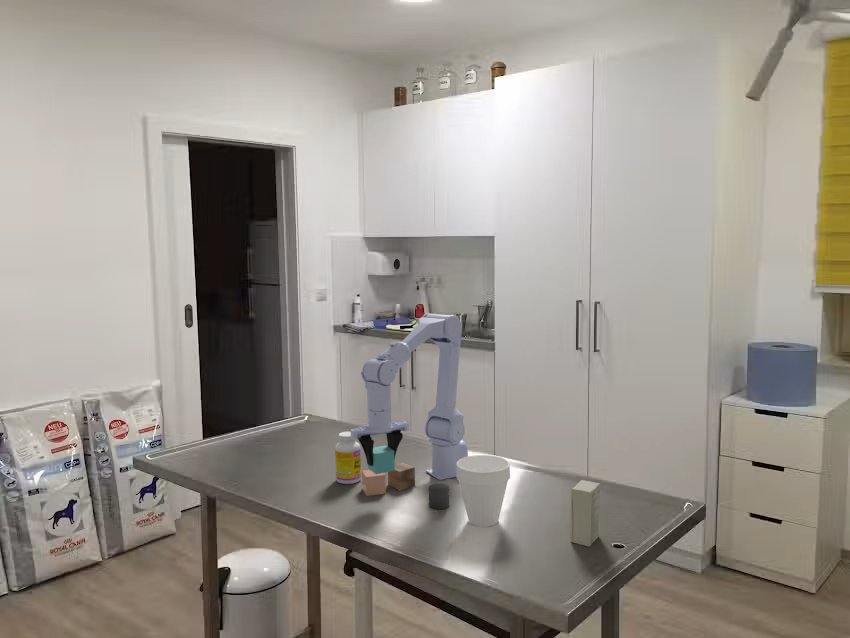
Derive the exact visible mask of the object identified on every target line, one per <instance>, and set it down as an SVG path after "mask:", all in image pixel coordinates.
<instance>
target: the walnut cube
mask: <svg viewBox="0 0 850 638" xmlns="http://www.w3.org/2000/svg"><path fill="white" fill-rule="evenodd" d="M415 471H416V470H415V466H413V465H410V464H407V463H404V462H400V463H397V464H396V463H395V471H390V472H387V483H388V484H387V485H388V486H389V487H392V488H394V489H396V490H399V491H401V490H404V489H408V488H411V487H414V486H416V477H415V476H416V472H415Z"/></svg>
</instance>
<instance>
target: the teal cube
mask: <svg viewBox="0 0 850 638" xmlns="http://www.w3.org/2000/svg"><path fill="white" fill-rule="evenodd" d="M395 465H396V463H395V460H394V450H392V449H391V448H389V447H388V445H381V446H373V466H370V465H368V464H367V470H371V471H372V472H374V473H375V474H380V473H384V474H385V473H388V472H390V471H395Z"/></svg>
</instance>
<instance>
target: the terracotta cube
mask: <svg viewBox="0 0 850 638" xmlns="http://www.w3.org/2000/svg"><path fill="white" fill-rule="evenodd" d="M361 480H362V481H361V483H362V486H361V487H362V490H363V492H364V494H365V496H368V497H369V496H376V495H385V494H386V493H387V492H386V490H387V489H386V488H387V486H386V485H387V484H386V474H385V473H380V474H375V473H374V472H372V471H371V470H370V469H367V470H366V469H364V470H361Z"/></svg>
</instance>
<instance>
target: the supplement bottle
mask: <svg viewBox="0 0 850 638" xmlns="http://www.w3.org/2000/svg"><path fill="white" fill-rule="evenodd" d="M356 440H357V439H353V438H351V431H342V432H340V433H338V441H339V442H337V443H336V445H335V448H334V449H335V450H334V451H335V480H336V482H337V483H338V484H344V485H353V484H356V483H358V482H360V481H361V480H362V464H361V462H362V461H361V460H362V459H361V443H360V442H359V441H358V442H357V441H356Z"/></svg>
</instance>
